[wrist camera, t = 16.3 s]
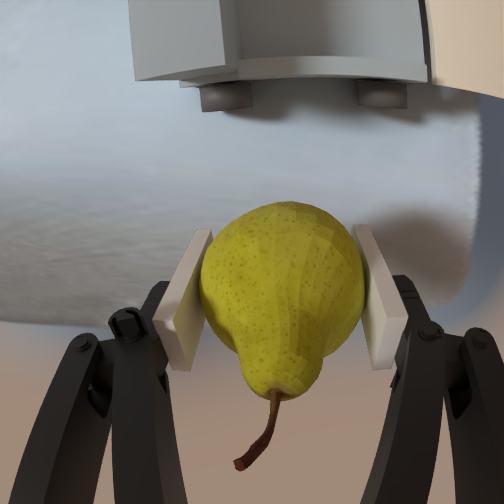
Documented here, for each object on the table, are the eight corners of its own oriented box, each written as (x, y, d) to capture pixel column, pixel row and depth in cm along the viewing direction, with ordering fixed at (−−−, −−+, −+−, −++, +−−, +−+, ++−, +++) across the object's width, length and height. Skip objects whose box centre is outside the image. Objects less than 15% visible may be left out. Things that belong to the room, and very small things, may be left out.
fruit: (357, 283, 17) (400, 497, 7) (242, 306, 19) (206, 510, 8) (334, 165, 14) (433, 405, 4) (197, 202, 15) (76, 425, 5)
